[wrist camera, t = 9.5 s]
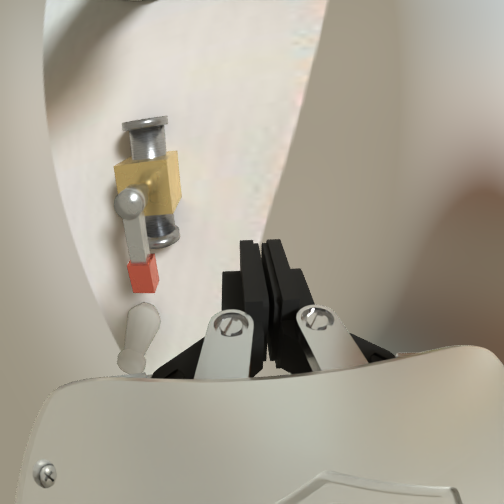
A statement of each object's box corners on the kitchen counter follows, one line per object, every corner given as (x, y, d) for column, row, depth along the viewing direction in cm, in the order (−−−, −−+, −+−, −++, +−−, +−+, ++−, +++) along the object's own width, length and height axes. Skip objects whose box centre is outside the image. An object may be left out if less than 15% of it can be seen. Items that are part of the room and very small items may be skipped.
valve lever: (120, 184, 27) (111, 192, 24) (147, 182, 27) (139, 190, 25) (137, 279, 32) (131, 292, 30) (160, 280, 33) (156, 293, 30)
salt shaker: (132, 320, 47) (113, 376, 36) (130, 296, 45) (107, 352, 33) (163, 325, 48) (150, 383, 37) (162, 301, 46) (147, 360, 34)
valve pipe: (128, 121, 32) (99, 128, 24) (174, 114, 32) (156, 117, 24) (143, 231, 39) (124, 263, 31) (185, 228, 40) (174, 261, 32)
